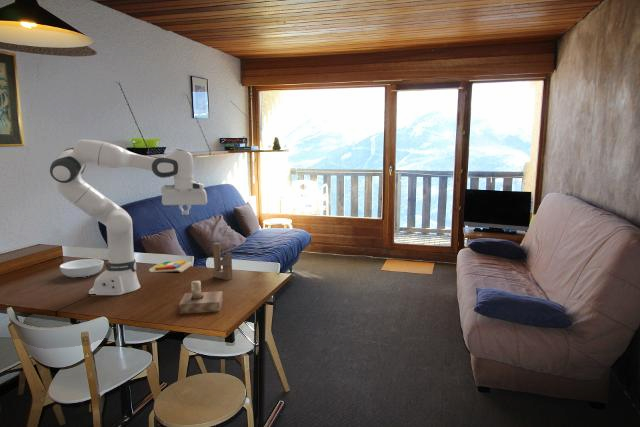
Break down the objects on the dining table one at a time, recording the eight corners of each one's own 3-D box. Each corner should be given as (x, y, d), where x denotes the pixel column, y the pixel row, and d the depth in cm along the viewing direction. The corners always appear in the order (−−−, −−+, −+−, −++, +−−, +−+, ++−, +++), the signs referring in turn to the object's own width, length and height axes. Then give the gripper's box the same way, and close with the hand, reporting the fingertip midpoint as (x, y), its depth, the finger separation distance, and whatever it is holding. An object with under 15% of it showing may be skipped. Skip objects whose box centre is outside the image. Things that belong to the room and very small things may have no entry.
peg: (192, 308, 185) (190, 283, 183) (193, 305, 189) (191, 280, 187) (201, 308, 185) (199, 283, 184) (202, 304, 189) (201, 280, 187)
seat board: (179, 313, 179) (179, 304, 179) (185, 301, 193) (185, 293, 192) (219, 311, 181) (219, 302, 181) (222, 299, 195) (222, 291, 194)
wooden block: (227, 280, 224) (226, 245, 221) (212, 277, 229) (211, 243, 227) (232, 278, 227) (231, 244, 224) (218, 275, 232) (216, 242, 230)
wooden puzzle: (162, 264, 258) (162, 258, 258) (193, 265, 256) (193, 259, 256) (148, 273, 241) (147, 267, 241) (180, 273, 239) (180, 267, 239)
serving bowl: (99, 279, 230) (98, 266, 229) (55, 283, 225) (53, 270, 224) (108, 268, 250) (107, 257, 249) (67, 272, 245) (66, 260, 244)
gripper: (159, 185, 199) (160, 215, 200) (205, 185, 201) (206, 215, 202) (162, 184, 205) (164, 213, 207) (207, 184, 207) (208, 213, 209)
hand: (185, 214), depth 205 cm, fingers closed
